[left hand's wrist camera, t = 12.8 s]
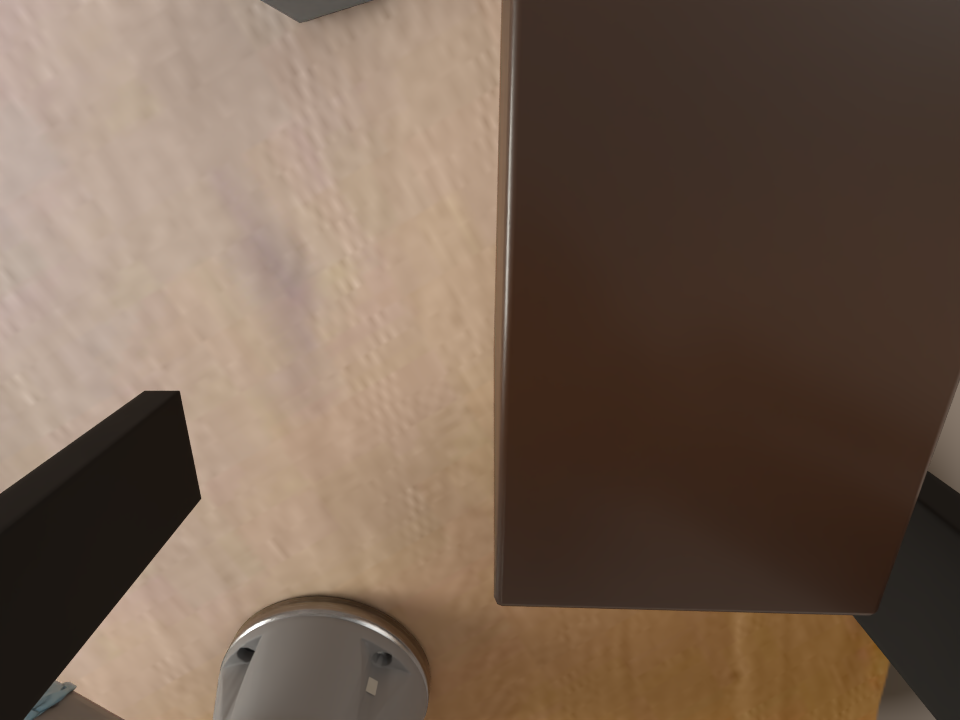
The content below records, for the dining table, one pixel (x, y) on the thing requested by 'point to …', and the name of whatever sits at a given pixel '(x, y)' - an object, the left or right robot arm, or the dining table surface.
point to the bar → (721, 298)
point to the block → (311, 7)
